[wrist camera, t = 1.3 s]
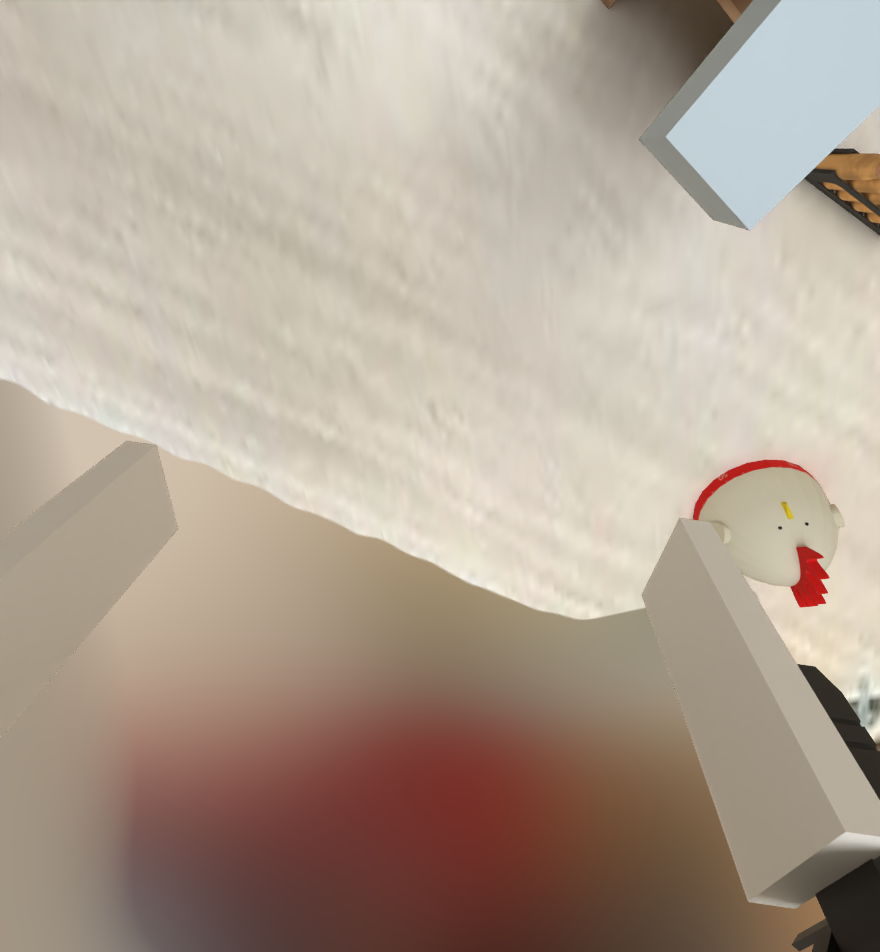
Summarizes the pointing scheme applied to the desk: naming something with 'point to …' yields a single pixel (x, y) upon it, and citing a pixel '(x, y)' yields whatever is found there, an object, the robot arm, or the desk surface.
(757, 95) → the batten
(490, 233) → the desk surface
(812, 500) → the kitchen timer
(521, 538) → the desk surface
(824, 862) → the robot arm
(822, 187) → the ammunition clip
